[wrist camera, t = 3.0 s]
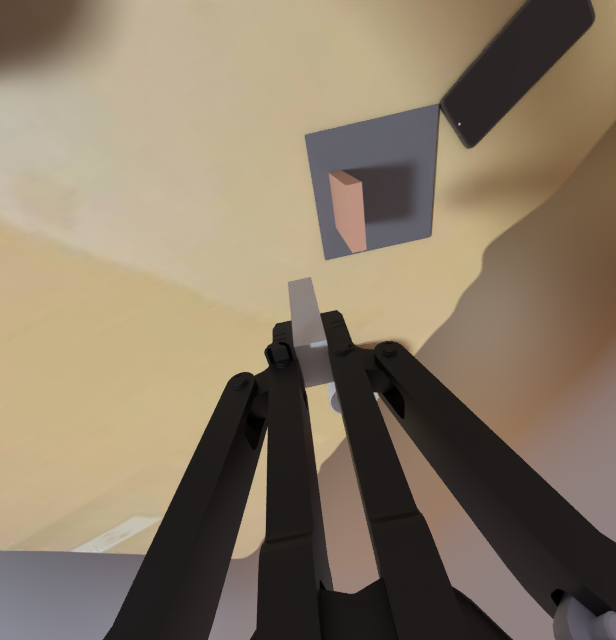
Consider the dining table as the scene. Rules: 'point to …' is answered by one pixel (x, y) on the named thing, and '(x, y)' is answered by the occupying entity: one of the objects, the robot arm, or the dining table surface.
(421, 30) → the dining table surface
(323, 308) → the dining table surface
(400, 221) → the mat
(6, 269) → the dining table surface
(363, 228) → the slab
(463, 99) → the smartphone
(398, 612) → the robot arm
